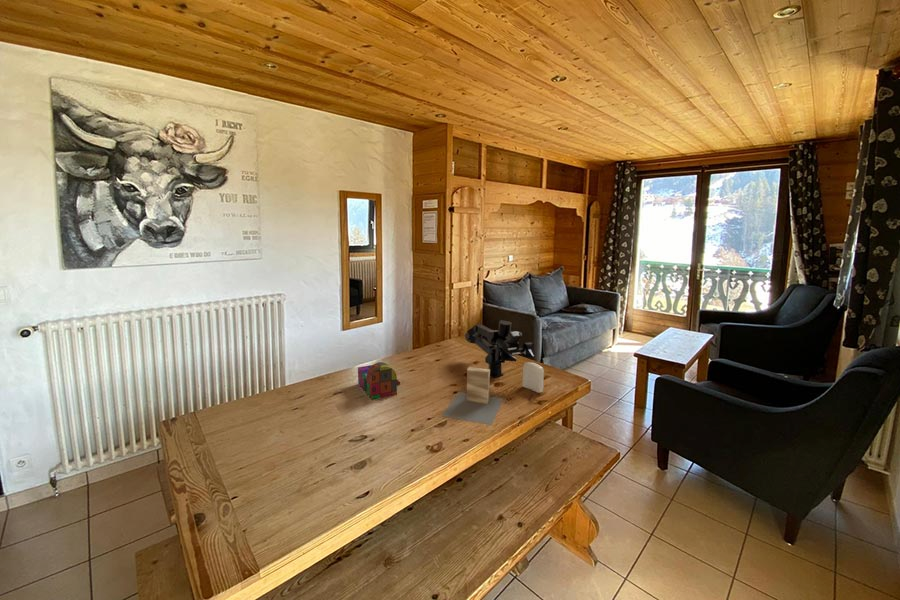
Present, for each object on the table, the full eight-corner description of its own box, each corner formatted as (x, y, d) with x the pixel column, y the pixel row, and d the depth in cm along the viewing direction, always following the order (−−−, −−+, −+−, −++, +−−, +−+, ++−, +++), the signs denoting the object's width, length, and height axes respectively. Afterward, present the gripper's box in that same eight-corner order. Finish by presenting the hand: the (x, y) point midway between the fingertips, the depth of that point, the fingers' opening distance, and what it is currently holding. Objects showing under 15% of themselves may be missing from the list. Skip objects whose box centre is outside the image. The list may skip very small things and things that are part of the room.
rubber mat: (459, 393, 181) (459, 391, 180) (503, 400, 174) (503, 398, 174) (441, 418, 158) (441, 416, 158) (491, 426, 152) (491, 424, 152)
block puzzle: (408, 392, 181) (408, 362, 179) (371, 400, 173) (370, 369, 171) (388, 374, 203) (387, 346, 200) (354, 380, 195) (353, 352, 192)
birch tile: (468, 397, 175) (469, 366, 172) (489, 400, 172) (490, 369, 169) (466, 400, 172) (467, 369, 169) (487, 403, 169) (488, 372, 166)
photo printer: (520, 386, 189) (521, 361, 187) (526, 384, 192) (528, 359, 189) (538, 394, 181) (539, 367, 179) (544, 391, 184) (546, 365, 182)
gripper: (490, 330, 185) (508, 344, 172) (525, 327, 193) (544, 339, 179) (488, 353, 188) (505, 368, 175) (522, 348, 196) (541, 362, 182)
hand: (524, 359), depth 178 cm, fingers open, 9 cm apart
